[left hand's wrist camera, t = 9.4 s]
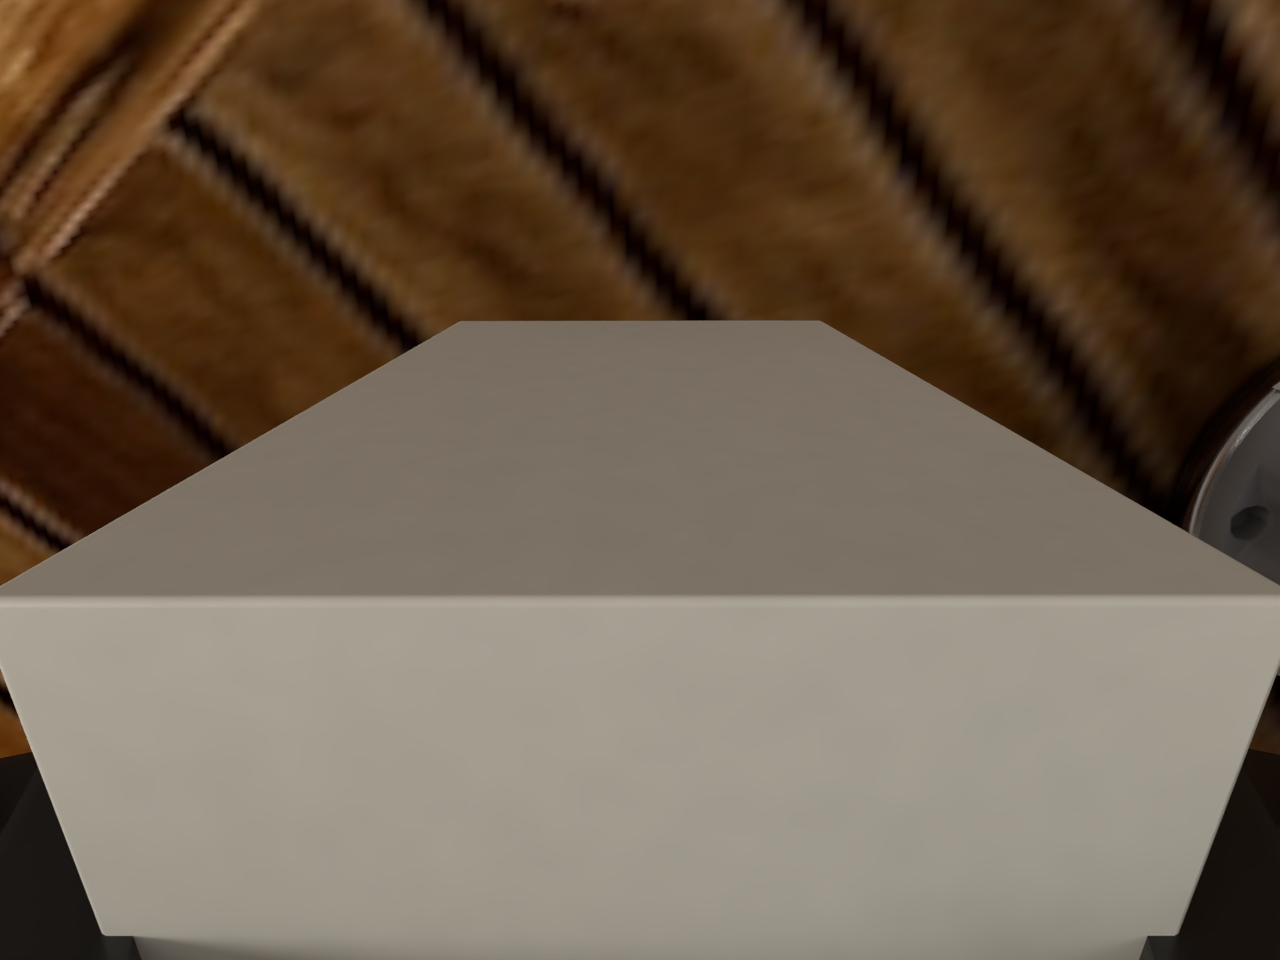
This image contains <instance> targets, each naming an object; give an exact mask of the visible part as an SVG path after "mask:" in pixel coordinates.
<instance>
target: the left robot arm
mask: <svg viewBox="0 0 1280 960" xmlns="http://www.w3.org/2000/svg"><path fill="white" fill-rule="evenodd" d="M1168 521H1169V522H1170V523H1172V524H1174V525H1176V526H1177V527H1179V528H1181V529H1183V530H1184V531H1186V532H1188V533H1190V534H1191V535H1193V536H1195V537H1196V538H1198V539H1200V540H1202V541H1203V542H1205V543H1207V544H1209V545H1210V546H1212V547H1214V548H1216V549H1217V550H1219V551H1221V552H1223V553H1224V554H1226V555H1228V556H1229V557H1231V558H1233V559H1235V560H1236V561H1238V562H1240V563H1242V564H1243V565H1245V566H1247V567H1249V568H1250V569H1252V570H1254V571H1256V572H1257V573H1259V574H1261V575H1262V576H1264V577H1266V578H1268V579H1269V580H1271V581H1273V582H1275V583H1276V584H1278V585H1280V357H1279V358H1278V359H1276V360H1275V361H1273V362H1272V363H1271V364H1270V365H1268V366H1267V367H1266V368H1265V369H1263V370H1262V371H1261V372H1260V373H1259V374H1257V375H1256V376H1255V377H1254V378H1253V379H1252V380H1251V381H1250V382H1248V383H1247V384H1246V385H1245V386H1244V387H1243V388H1242V389H1241V390H1240V391H1239V392H1238V393H1237V394H1236V395H1235V396H1234V397H1233V398H1232V399H1231V401H1230V402H1229V403H1228V404H1227V405H1226V406H1225V407H1224V408H1223V409H1222V411H1221V412H1220V413H1219V414H1218V416H1217V417H1216V418H1215V419H1214V421H1213V422H1212V423H1211V425H1210V426H1209V427H1208V429H1207V430H1206V432H1205V433H1204V435H1203V436H1202V438H1201V439H1200V441H1199V442H1198V444H1197V445H1196V447H1195V449H1194V451H1193V453H1192V454H1191V456H1190V458H1189V460H1188V462H1187V464H1186V466H1185V468H1184V470H1183V473H1182V475H1181V477H1180V479H1179V482H1178V485H1177V488H1176V491H1175V494H1174V497H1173V501H1172V505H1171V509H1170V513H1169V520H1168ZM1277 675H1279V676H1280V666H1279V669H1278V672H1277ZM0 960H141V957H140V954H139V951H138V949H137V946H136V943H135V940H134V937H133V936H105V935H104V934H102V932H101V930H100V927H99V925H98V922H97V919H96V917H95V914H94V912H93V909H92V906H91V904H90V901H89V899H88V896H87V893H86V891H85V888H84V885H83V883H82V880H81V878H80V875H79V872H78V870H77V867H76V865H75V862H74V859H73V857H72V854H71V851H70V849H69V846H68V844H67V841H66V838H65V836H64V833H63V831H62V828H61V825H60V823H59V820H58V817H57V815H56V812H55V810H54V807H53V804H52V802H51V799H50V797H49V794H48V791H47V789H46V786H45V783H44V781H43V778H42V776H41V773H40V770H39V768H38V765H37V763H36V760H35V757H34V755H33V752H30V753H25V754H20V755H15V756H10V757H5V758H0ZM1139 960H1280V755H1277V754H1272V753H1267V752H1262V751H1257V750H1252V749H1248V751H1247V754H1246V756H1245V759H1244V762H1243V764H1242V767H1241V769H1240V772H1239V775H1238V777H1237V780H1236V783H1235V785H1234V788H1233V791H1232V793H1231V796H1230V799H1229V801H1228V804H1227V806H1226V809H1225V812H1224V814H1223V817H1222V820H1221V822H1220V825H1219V828H1218V830H1217V833H1216V836H1215V838H1214V841H1213V843H1212V846H1211V849H1210V851H1209V854H1208V857H1207V859H1206V862H1205V865H1204V867H1203V870H1202V873H1201V875H1200V878H1199V880H1198V883H1197V886H1196V888H1195V891H1194V894H1193V896H1192V899H1191V902H1190V904H1189V907H1188V910H1187V912H1186V915H1185V917H1184V920H1183V923H1182V925H1181V928H1180V931H1179V933H1178V934H1176V935H1175V936H1147V939H1146V942H1145V944H1144V947H1143V950H1142V953H1141V956H1140V958H1139Z"/></svg>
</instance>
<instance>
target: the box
mask: <svg viewBox="0 0 1280 960" xmlns="http://www.w3.org/2000/svg"><path fill="white" fill-rule="evenodd" d="M1279 666H1280V585H1278V584H1276V583H1275V582H1273V581H1271V580H1269V579H1268V578H1266V577H1264V576H1262V575H1261V574H1259V573H1257V572H1256V571H1254V570H1252V569H1250V568H1249V567H1247V566H1245V565H1243V564H1242V563H1240V562H1238V561H1236V560H1235V559H1233V558H1231V557H1229V556H1228V555H1226V554H1224V553H1223V552H1221V551H1219V550H1217V549H1216V548H1214V547H1212V546H1210V545H1209V544H1207V543H1205V542H1203V541H1202V540H1200V539H1198V538H1196V537H1195V536H1193V535H1191V534H1190V533H1188V532H1186V531H1184V530H1183V529H1181V528H1179V527H1177V526H1176V525H1174V524H1172V523H1170V522H1169V521H1167V520H1165V519H1163V518H1162V517H1160V516H1158V515H1157V514H1155V513H1153V512H1151V511H1150V510H1148V509H1146V508H1144V507H1143V506H1141V505H1139V504H1137V503H1136V502H1134V501H1132V500H1131V499H1129V498H1127V497H1125V496H1124V495H1122V494H1120V493H1118V492H1117V491H1115V490H1113V489H1111V488H1110V487H1108V486H1106V485H1104V484H1103V483H1101V482H1099V481H1098V480H1096V479H1094V478H1092V477H1091V476H1089V475H1087V474H1085V473H1084V472H1082V471H1080V470H1078V469H1077V468H1075V467H1073V466H1071V465H1070V464H1068V463H1066V462H1065V461H1063V460H1061V459H1059V458H1058V457H1056V456H1054V455H1052V454H1051V453H1049V452H1047V451H1045V450H1044V449H1042V448H1040V447H1038V446H1037V445H1035V444H1033V443H1032V442H1030V441H1028V440H1026V439H1025V438H1023V437H1021V436H1019V435H1018V434H1016V433H1014V432H1012V431H1011V430H1009V429H1007V428H1006V427H1004V426H1002V425H1000V424H999V423H997V422H995V421H993V420H992V419H990V418H988V417H986V416H985V415H983V414H981V413H979V412H978V411H976V410H974V409H973V408H971V407H969V406H967V405H966V404H964V403H962V402H960V401H959V400H957V399H955V398H953V397H952V396H950V395H948V394H946V393H945V392H943V391H941V390H940V389H938V388H936V387H934V386H933V385H931V384H929V383H927V382H926V381H924V380H922V379H920V378H919V377H917V376H915V375H913V374H912V373H910V372H908V371H907V370H905V369H903V368H901V367H900V366H898V365H896V364H894V363H893V362H891V361H889V360H887V359H886V358H884V357H882V356H881V355H879V354H877V353H875V352H874V351H872V350H870V349H868V348H867V347H865V346H863V345H861V344H860V343H858V342H856V341H854V340H853V339H851V338H849V337H848V336H846V335H844V334H842V333H841V332H839V331H837V330H835V329H834V328H832V327H830V326H828V325H827V324H825V323H823V322H821V321H460V322H458V323H456V324H455V325H453V326H451V327H449V328H448V329H446V330H444V331H443V332H441V333H439V334H437V335H436V336H434V337H432V338H430V339H429V340H427V341H425V342H423V343H422V344H420V345H418V346H416V347H415V348H413V349H411V350H410V351H408V352H406V353H404V354H403V355H401V356H399V357H397V358H396V359H394V360H392V361H390V362H389V363H387V364H385V365H384V366H382V367H380V368H378V369H377V370H375V371H373V372H371V373H370V374H368V375H366V376H364V377H363V378H361V379H359V380H357V381H356V382H354V383H352V384H351V385H349V386H347V387H345V388H344V389H342V390H340V391H338V392H337V393H335V394H333V395H331V396H330V397H328V398H326V399H325V400H323V401H321V402H319V403H318V404H316V405H314V406H312V407H311V408H309V409H307V410H305V411H304V412H302V413H300V414H298V415H297V416H295V417H293V418H292V419H290V420H288V421H286V422H285V423H283V424H281V425H279V426H278V427H276V428H274V429H272V430H271V431H269V432H267V433H266V434H264V435H262V436H260V437H259V438H257V439H255V440H253V441H252V442H250V443H248V444H246V445H245V446H243V447H241V448H239V449H238V450H236V451H234V452H233V453H231V454H229V455H227V456H226V457H224V458H222V459H220V460H219V461H217V462H215V463H213V464H212V465H210V466H208V467H207V468H205V469H203V470H201V471H200V472H198V473H196V474H194V475H193V476H191V477H189V478H187V479H186V480H184V481H182V482H180V483H179V484H177V485H175V486H174V487H172V488H170V489H168V490H167V491H165V492H163V493H161V494H160V495H158V496H156V497H154V498H153V499H151V500H149V501H148V502H146V503H144V504H142V505H141V506H139V507H137V508H135V509H134V510H132V511H130V512H128V513H127V514H125V515H123V516H121V517H120V518H118V519H116V520H115V521H113V522H111V523H109V524H108V525H106V526H104V527H102V528H101V529H99V530H97V531H95V532H94V533H92V534H90V535H89V536H87V537H85V538H83V539H82V540H80V541H78V542H76V543H75V544H73V545H71V546H69V547H68V548H66V549H64V550H62V551H61V552H59V553H57V554H56V555H54V556H52V557H50V558H49V559H47V560H45V561H43V562H42V563H40V564H38V565H36V566H35V567H33V568H31V569H30V570H28V571H26V572H24V573H23V574H21V575H19V576H17V577H16V578H14V579H12V580H10V581H9V582H7V583H5V584H3V585H2V586H0V668H1V671H2V674H3V676H4V679H5V682H6V684H7V687H8V689H9V692H10V695H11V697H12V700H13V702H14V705H15V708H16V710H17V713H18V716H19V718H20V721H21V723H22V726H23V729H24V731H25V734H26V736H27V739H28V742H29V744H30V747H31V750H32V752H33V755H34V757H35V760H36V763H37V765H38V768H39V770H40V773H41V776H42V778H43V781H44V783H45V786H46V789H47V791H48V794H49V797H50V799H51V802H52V804H53V807H54V810H55V812H56V815H57V817H58V820H59V823H60V825H61V828H62V831H63V833H64V836H65V838H66V841H67V844H68V846H69V849H70V851H71V854H72V857H73V859H74V862H75V865H76V867H77V870H78V872H79V875H80V878H81V880H82V883H83V885H84V888H85V891H86V893H87V896H88V899H89V901H90V904H91V906H92V909H93V912H94V914H95V917H96V919H97V922H98V925H99V927H100V930H101V932H102V934H104V935H105V936H133V937H134V940H135V943H136V946H137V949H138V951H139V954H140V957H141V960H1139V958H1140V956H1141V953H1142V950H1143V947H1144V944H1145V942H1146V939H1147V936H1175V935H1176V934H1178V933H1179V931H1180V928H1181V925H1182V923H1183V920H1184V917H1185V915H1186V912H1187V910H1188V907H1189V904H1190V902H1191V899H1192V896H1193V894H1194V891H1195V888H1196V886H1197V883H1198V880H1199V878H1200V875H1201V873H1202V870H1203V867H1204V865H1205V862H1206V859H1207V857H1208V854H1209V851H1210V849H1211V846H1212V843H1213V841H1214V838H1215V836H1216V833H1217V830H1218V828H1219V825H1220V822H1221V820H1222V817H1223V814H1224V812H1225V809H1226V806H1227V804H1228V801H1229V799H1230V796H1231V793H1232V791H1233V788H1234V785H1235V783H1236V780H1237V777H1238V775H1239V772H1240V769H1241V767H1242V764H1243V762H1244V759H1245V756H1246V754H1247V751H1248V748H1249V746H1250V743H1251V740H1252V738H1253V735H1254V732H1255V730H1256V727H1257V725H1258V722H1259V719H1260V717H1261V714H1262V711H1263V709H1264V706H1265V703H1266V701H1267V698H1268V695H1269V693H1270V690H1271V688H1272V685H1273V682H1274V680H1275V677H1276V674H1277V672H1278V669H1279Z"/></svg>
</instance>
